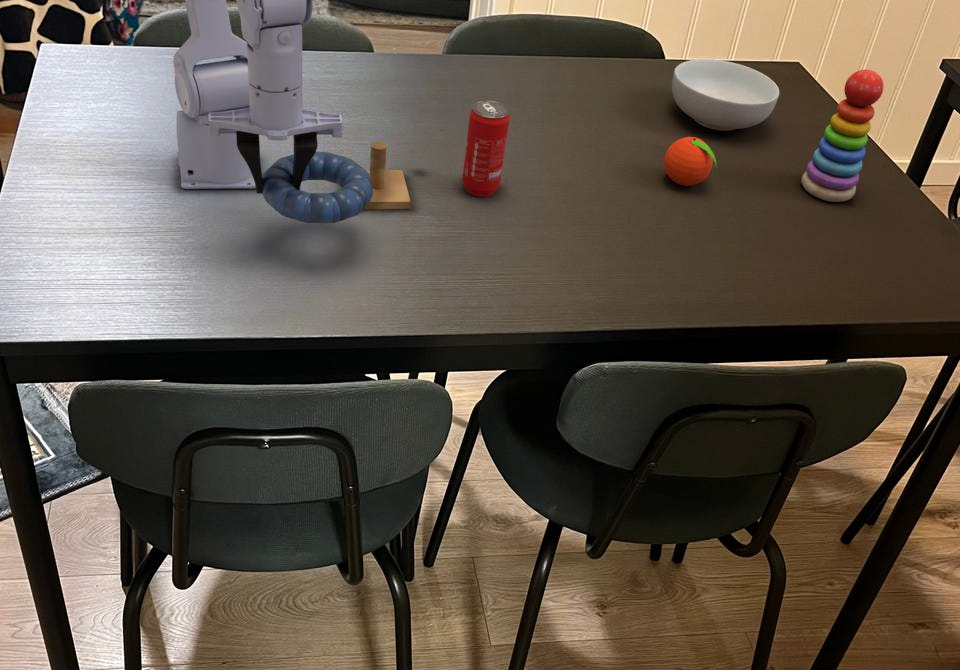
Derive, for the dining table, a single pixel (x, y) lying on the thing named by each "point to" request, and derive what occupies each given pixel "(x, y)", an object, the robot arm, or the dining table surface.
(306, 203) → the ring
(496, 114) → the beverage can
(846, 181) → the stacking toy
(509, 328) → the dining table surface
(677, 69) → the cereal bowl
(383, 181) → the stand
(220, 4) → the robot arm
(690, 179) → the clementine
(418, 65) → the dining table surface
